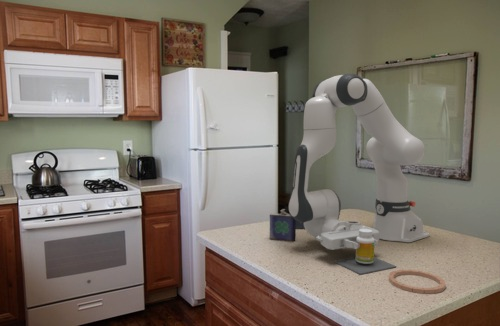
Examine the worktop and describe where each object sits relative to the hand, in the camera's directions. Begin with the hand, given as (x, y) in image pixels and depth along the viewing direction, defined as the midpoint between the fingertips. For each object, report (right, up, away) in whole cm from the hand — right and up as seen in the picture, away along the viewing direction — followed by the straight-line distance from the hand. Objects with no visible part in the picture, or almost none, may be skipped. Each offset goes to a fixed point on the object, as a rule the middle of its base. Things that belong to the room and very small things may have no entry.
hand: (367, 244), depth 123 cm
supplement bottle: (0, -6, +1) cm, 6 cm away
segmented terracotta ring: (+10, -8, -12) cm, 18 cm away
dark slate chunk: (-14, -2, +50) cm, 52 cm away
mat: (0, -6, +1) cm, 7 cm away
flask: (-23, -4, +28) cm, 37 cm away
